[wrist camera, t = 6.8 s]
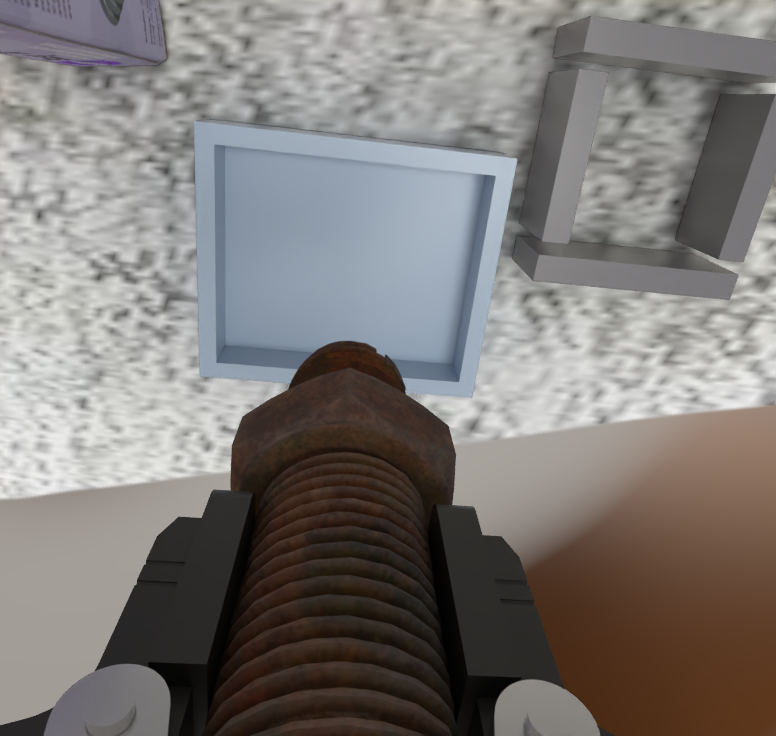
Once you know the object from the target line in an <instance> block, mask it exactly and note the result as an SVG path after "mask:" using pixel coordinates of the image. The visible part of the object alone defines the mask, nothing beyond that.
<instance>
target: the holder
mask: <svg viewBox="0 0 776 736" xmlns="http://www.w3.org/2000/svg"><path fill="white" fill-rule="evenodd" d="M552 58H559V59H567V60H575V61H582V62H590V63H597V64H605V65H613V66H620V67H628V68H636V69H643V70H651V71H658V72H666V73H674V74H681V75H689V76H696V77H704V78H712V79H719V80H727V81H735V82H742V83H776V41H769V40H762V39H755V38H747V37H740V36H733V35H726V34H718V33H711V32H704V31H697V30H690V29H682V28H675V27H668V26H661V25H653V24H646V23H639V22H632V21H625V20H617V19H610V18H603V17H596V16H589V17H586V18H583V19H580V20H578V21H575V22H572V23H569V24H566V25H563V26H560V27H558V32H557V37H556V42H555V47H554V52H553V57H552ZM608 75H609V72H601V71H593V70H586V69H573V70H565V71H557V72H549V77H548V82H547V87H546V92H545V97H544V102H543V107H542V112H541V117H540V122H539V127H538V132H537V137H536V142H535V147H534V152H533V157H532V162H531V167H530V172H529V177H528V182H527V187H526V192H525V197H524V202H523V207H522V212H521V217H520V222H519V224H521V225H522V226H523V227H524V228H526V229H527V230H528V231H529V232H531V233H532V234H533V235H535V236H536V237H527V236H517V237H516V242H515V247H514V252H513V257H512V259H513V260H514V261H515V262H516V263H517V264H518V265H519V267H520V268H521V269H522V270H523V271H524V272H525V273H526V274H527V275H528V276H529V277H530V278H531V279H532V280H533V281H539V282H550V283H560V284H570V285H581V286H591V287H601V288H612V289H622V290H632V291H643V292H653V293H663V294H673V295H684V296H694V297H704V298H715V299H725V300H730V297H731V295H732V292H733V289H734V286H735V284H736V281H737V278H738V274H736V273H734V272H731V271H729V270H727V269H725V268H723V267H721V266H719V265H717V264H714V263H712V262H710V261H708V260H706V259H704V258H702V257H699V256H697V255H695V254H691V253H682V252H672V251H662V250H653V249H643V248H633V247H624V246H614V245H604V244H595V243H585V242H575V241H569V239H570V235H571V230H572V226H573V222H574V218H575V214H576V209H577V205H578V201H579V197H580V192H581V188H582V184H583V180H584V176H585V171H586V167H587V163H588V159H589V155H590V150H591V146H592V142H593V138H594V134H595V129H596V125H597V121H598V117H599V112H600V108H601V104H602V100H603V96H604V91H605V87H606V83H607V79H608ZM775 174H776V94H720V97H719V100H718V104H717V107H716V110H715V113H714V117H713V120H712V123H711V126H710V129H709V133H708V136H707V139H706V142H705V145H704V149H703V152H702V155H701V158H700V162H699V165H698V168H697V171H696V174H695V178H694V181H693V184H692V187H691V190H690V194H689V197H688V200H687V203H686V207H685V210H684V213H683V216H682V219H681V223H680V226H679V229H678V232H677V235H676V239H675V240H676V241H679V242H681V243H683V244H685V245H688V246H690V247H692V248H694V249H696V250H699V251H701V252H703V253H705V254H707V255H710V256H712V257H714V258H716V259H719V260H728V261H738V262H744V259H745V256H746V253H747V251H748V248H749V245H750V242H751V240H752V237H753V234H754V231H755V229H756V226H757V223H758V220H759V218H760V215H761V212H762V209H763V207H764V204H765V201H766V199H767V196H768V193H769V190H770V188H771V185H772V182H773V179H774V177H775Z"/></svg>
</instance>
